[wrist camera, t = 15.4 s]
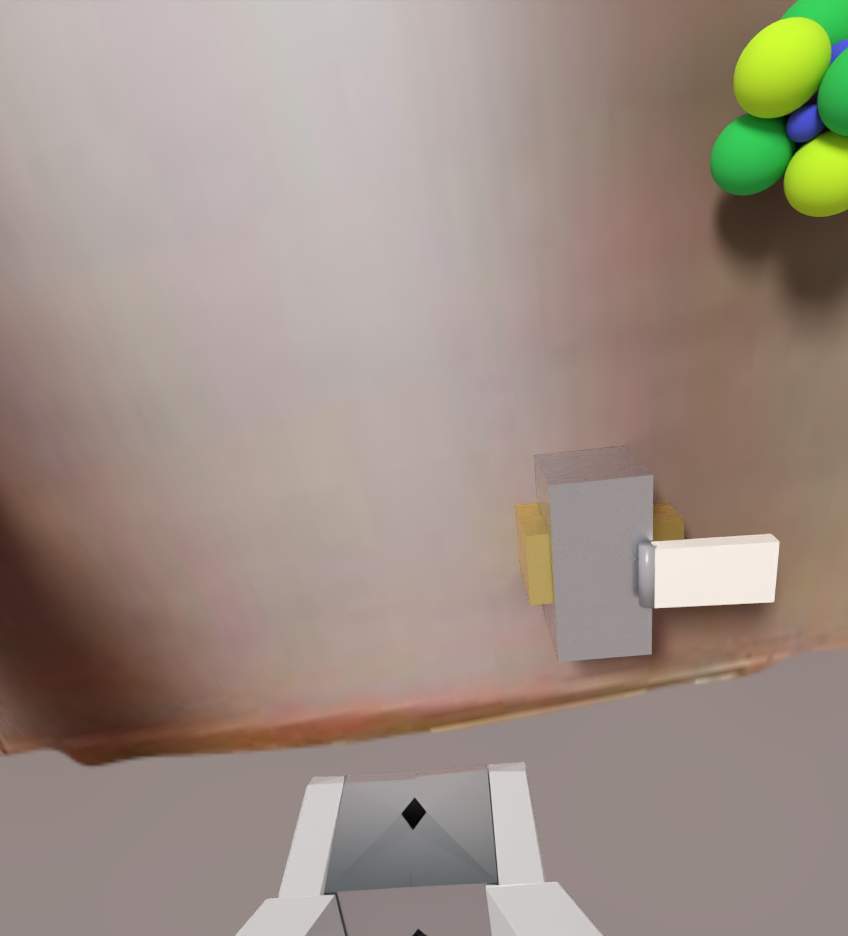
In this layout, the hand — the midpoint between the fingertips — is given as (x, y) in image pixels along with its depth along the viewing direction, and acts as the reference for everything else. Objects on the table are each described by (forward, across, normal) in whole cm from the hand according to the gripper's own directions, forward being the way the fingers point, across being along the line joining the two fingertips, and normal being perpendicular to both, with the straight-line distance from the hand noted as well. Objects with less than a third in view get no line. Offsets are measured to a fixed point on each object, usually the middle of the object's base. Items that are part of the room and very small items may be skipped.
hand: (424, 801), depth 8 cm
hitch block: (+31, -9, +12) cm, 35 cm away
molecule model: (+31, -20, -12) cm, 39 cm away
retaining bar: (+25, -11, +12) cm, 30 cm away
